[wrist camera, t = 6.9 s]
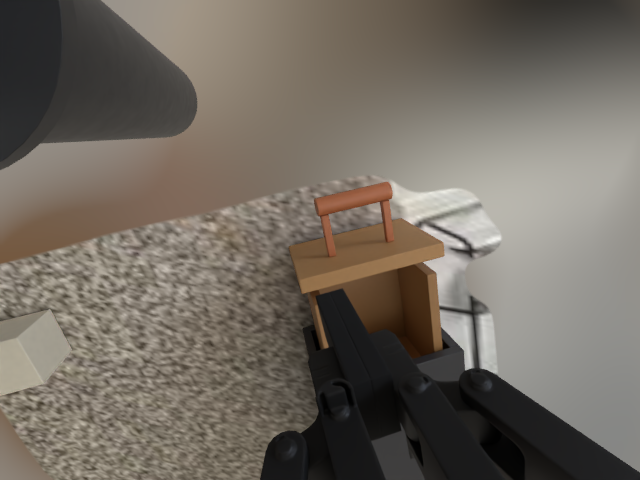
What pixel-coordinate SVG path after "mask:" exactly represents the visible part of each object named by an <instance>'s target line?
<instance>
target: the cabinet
mask: <svg viewBox="0 0 640 480" xmlns="http://www.w3.org/2000/svg"><path fill="white" fill-rule="evenodd" d="M303 333H304V338H305V342H306V346H307V350H308V354H309V357H310V354H311V353H312V352H315V351H318V350H320V346H319V342H318V337H317V333H316V329H315V325H313V326H310V327H306V328H303ZM441 336H442V348H443V350H441V351H437V352H434V353H431V354H427V355H424V356H421V357H417V358H414V359H413V361H414V362H415V363H416V365H417V366H418V368H419V369H420V371H421V372H422V373H424V374H427V375H429V376H430V377H431V378H432V379H433V380H437V381H459V378H460V375H461V374H462V373H463V372H464V371H465V364H464V350H463V349H462V348H461V347H460V346H459V345H458V344H457V343H456V342H455V341H454V340H453V339H452V338H451V337H450V336H449V335H448V334H447V333H446V332H445V331H444V330H443V329H442V327H441ZM400 425H401V423H400ZM371 442H372V444H373V447H374V450H375V452H376V455H377V457H378V460H379V463H380V465H381V468H382V470H383V473H384V476H385V478H386V480H425V478H424V476H423V474H422V472H421V470H420V468H419V466H418V464H417V462H416V460H415V458H414V456H413V459H410V456H409V451H408V445H407V440H406V434H405V431H404V429H403V427H402V425H401V431H399V432H397V433H394V434H391V435H388V436H385V437H382V438H379V439H376V440H373V441H371Z"/></svg>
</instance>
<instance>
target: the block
mask: <svg viewBox="0 0 640 480" xmlns="http://www.w3.org/2000/svg"><path fill="white" fill-rule="evenodd" d="M71 351H72V348H71V347H70V345H69V343H68V341H67V339H66V337H65V335H64V333H63V332H62V330H61V328H60V326H59V324H58V322H57V320H56V319H55V317H54V315H53V313H52V311H51V309H48V310H44V311H40V312H36V313H32V314H28V315H24V316H20V317H16V318H12V319H8V320H4V321H0V396H2V395H5V394H9V393H13V392H16V391H20V390H24V389H27V388H31V387H35V386H38V385H42V384H44V383H45V382H46V381H47V380H48V379H49V377H50V376H51V375H52V374H53V373H54V371H55V370H56V369H57V368H58V367H59V366H60V364H61V363H62V362H63V361H64V360H65V358H66V357H67V356H68V355H69V354H70V352H71Z"/></svg>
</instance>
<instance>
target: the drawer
mask: <svg viewBox="0 0 640 480" xmlns="http://www.w3.org/2000/svg"><path fill="white" fill-rule="evenodd" d="M391 198H392V188H391V185H390V184H389V182H384V183H379V184H375V185H371V186H367V187H362V188H358V189H354V190H349V191H345V192H341V193H337V194H332V195H328V196H324V197H320V198H315V199H314V204H315V209H316V212H317V215H318V216H320V218H321V223H322V228H323V233H324V238H320V239H316V240H312V241H308V242H304V243H300V244H296V245H292V246H289V251H290V255H291V259H292V262H293V266H294V269H295V273H296V276H297V279H298V283H299V286H300V290H301V293H302V294H304V293H307V295H308V299H309V303H310V308H311V312H312V316H313V320H314V325H315V329H316V333H317V337H318V342H319V346H320V350H322V349H325V348H328V347H329V346H328V343H327V340H326V337H325V333H324V329H323V325H322V321H321V317H320V313H319V309H318V305H317V301H316V297H315V296H317V295H321V294H324V293H327V292H331V291H334V290H338V289H341V288H343V289H344V291H345V293H346V295H347V296H348V298H349V300H350V302H351V303H352V305H353V307H354V309H355V310H356V312H357V314H358V316H359V317H360V319H361V321H362V323H363V324H364V326H365V328H366V330H367V331H368V333H369V334H371V333H374V332H377V331H381V330H384V329H387V330H389V331H391V332H392V333H394V334H395V335H396V336H397V338H398V339H399V341H400V343H402V345H403V346H404V348H405V349H406V351H407V352H408V353H409V355H410V356H411V358H412V359H414V358H417V357H421V356H424V355H427V354H431V353H434V352H437V351H441V350H443V348H442V336H441V324H440V312H439V300H438V289H437V277H436V272H434V271H433V270H432V269H430V268H429V267H428V266H426V265H425V264H424V263H423V262H425V261H428V260H432V259H436V258H440V257H443V256H444V244H443V242H442V241H440V240H438V239H436V238H435V237H433V236H431V235H429V234H428V233H426V232H424V231H423V230H421V229H419V228H417V227H416V226H414V225H412V224H410V223H409V222H407V221H405V220H404V219H402V218H401V219H397V220H393V221H392V219H391V212H390V204H389V199H391ZM377 202H380V205H381V212H382V220H383V223H381V224H377V225H373V226H369V227H364V228H360V229H356V230H352V231H348V232H344V233H340V234H336V235H332V231H331V226H330V220H329V215H328V214H331V213H335V212H339V211H343V210H347V209H352V208H356V207H360V206H364V205H368V204H372V203H377Z"/></svg>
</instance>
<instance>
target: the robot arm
mask: <svg viewBox="0 0 640 480" xmlns="http://www.w3.org/2000/svg"><path fill="white" fill-rule="evenodd" d="M315 297H316V301H317V305H318V309H319V313H320V317H321V321H322V325H323V329H324V333H325V337H326V340H327V343H328V346H329V347H328V348H325V349H322V350H318V351H315V352H312V353H311V354H310V357H309V361H308V363H309V368H310V372H311V376H312V380H313V384H314V389H315V393H316V402H317V406H318V409H319V413H318V416H317V418H316V420H315V422H314V423H313V424H312V425H311V426H310V427H309V428H307V429H306V430H305V431H303V432H302V433H298V432H296V431H285V432H282V433H280V434H279V435H277V436H276V437H274V438H273V439H272V441H271V442H270V443H269V445H268V447H267V450H266V453H265V458H264V463H263V468H262V473H261V478H260V480H386V478H385V476H384V473H383V470H382V468H381V465H380V463H379V460H378V457H377V455H376V452H375V450H374V447H373V444H372V442H371V441H373V440H376V439H379V438H382V437H385V436H388V435H391V434H394V433H397V432H399V431H401V425H402V427H403V429H404V431H405V434H406V440H407V445H408V451H409V456H410V459H413V456H414V458H415V460H416V462H417V464H418V466H419V468H420V470H421V472H422V474H423V476H424V478H425V480H640V473H639V472H638V471H637V470H635V469H633V468H632V467H631V466H629V465H628V464H626V463H625V462H623V461H622V460H620V459H619V458H617V457H616V456H614V455H613V454H612V453H610V452H608V451H607V450H606V449H604V448H603V447H601V446H600V445H598V444H597V443H595V442H594V441H592V440H591V439H589V438H588V437H586V436H585V435H583V434H582V433H581V432H579V431H577V430H576V429H575V428H573V427H571V426H570V425H569V424H567V423H566V422H564V421H563V420H561V419H560V418H559V417H557V416H555V415H554V414H552V413H551V412H550V411H548V410H547V409H545V408H544V407H542V406H541V405H539V404H538V403H536V402H535V401H533V400H532V399H531V398H529V397H528V396H526V395H525V394H523V393H522V392H520V391H519V390H517V389H515V388H514V387H513V386H511V385H510V384H508V383H507V382H505V381H504V380H502V379H501V378H499V377H498V376H497V375H495V374H494V373H492V372H490V371H488V370H484V369H480V368H474V369H469V370H466V371H464V372H463V373H462V374H461V375H460V378H459V381H437V380H433V379H432V378H431V377H430V376H429V375H427V374H424V373H422V372H421V371H420V369H419V368H418V366H417V365H416V363H415V362H414V361H413V359H412V358H411V356H410V355H409V353H408V352H407V351H406V349H405V348H404V346H403V345H402V343H400V341H399V339H398V338H397V336H396V335H395V334H394V333H392V332H391V331H389V330H387V329H384V330H381V331H377V332H374V333H371V334H369V333H368V331H367V330H366V328H365V326H364V324H363V323H362V321H361V319H360V317H359V316H358V314H357V312H356V310H355V309H354V307H353V305H352V303H351V302H350V300H349V298H348V296H347V295H346V293H345V291H344V289H343V288H341V289H338V290H334V291H331V292H327V293H324V294H321V295H317V296H315ZM400 423H401V425H400Z"/></svg>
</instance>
